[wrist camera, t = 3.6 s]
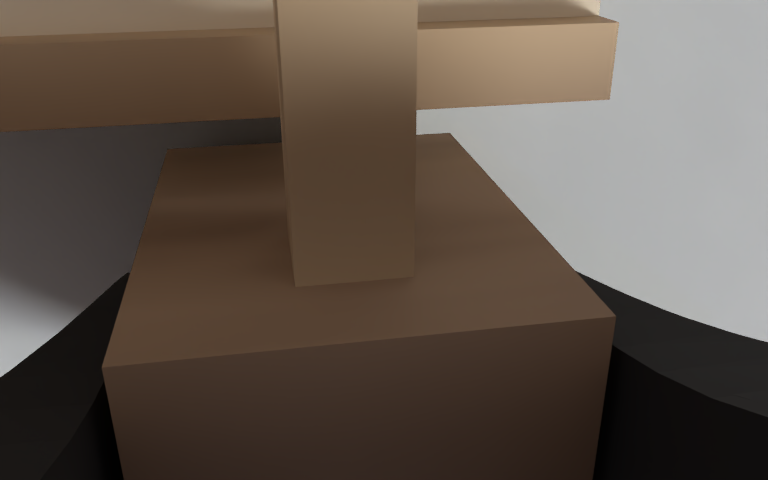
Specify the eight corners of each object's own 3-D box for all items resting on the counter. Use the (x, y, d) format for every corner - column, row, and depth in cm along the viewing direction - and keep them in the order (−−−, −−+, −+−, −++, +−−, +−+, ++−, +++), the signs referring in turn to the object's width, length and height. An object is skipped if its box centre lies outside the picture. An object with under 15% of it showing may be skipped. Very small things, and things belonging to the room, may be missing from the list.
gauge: (442, 362, 14) (568, 650, 9) (199, 388, 13) (171, 719, 8) (461, -202, 10) (708, -322, 5) (120, -208, 9) (-41, -356, 4)
